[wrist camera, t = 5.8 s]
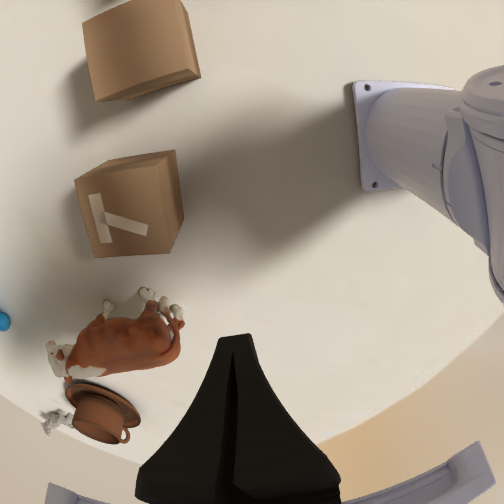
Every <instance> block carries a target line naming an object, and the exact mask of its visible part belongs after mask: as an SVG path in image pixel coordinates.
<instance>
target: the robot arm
mask: <svg viewBox="0 0 504 504" xmlns="http://www.w3.org/2000/svg"><path fill="white" fill-rule="evenodd" d="M365 84H366V85H368V87H369V90H368V91H366V90H365V89H364V86H365ZM352 90H353V97H354V105H355V113H356V122H357V132H358V143H359V157H360V174H361V187H362V189H363V190H364V191H366V192H374V191H382V190H389V189H397V188H405V189H407V190H408V191H410V192H411V193H413V194H414V195H416V196H417V197H419V198H420V199H422V200H423V201H424V202H426V203H427V204H429V205H430V206H432V207H433V208H434V209H436V210H437V211H439V212H440V213H441V214H443V215H444V216H445V217H447V218H448V219H449V220H451V221H452V222H453V223H455V224H456V225H457V226H459V227H460V228H461V229H462V230H463V231H465V232H466V233H467V234H468V235H470V236H471V237H473V239H474V242H475V245H476V246H477V247H479V248H480V249H481V250H482V251H483V252H484V253H485V254H487V255H488V256H489V278H490V281H491V285H492V287H493V289H494V291H495V294H496V295H497V297H498V298H499V300H500V301H501V302H502V303H503V304H504V65H502V66H497V67H493V68H489V69H486V70H484V71H481V72H479V73H477V74H475V75H473V76H472V77H471V78H469V79H468V81H467V82H466V84H465V86H464V88H463V90H462V91H457V90H455V89H454V88H452V87H445V86H438V85H430V84H420V83H409V82H394V81H355V82H354V83H353V85H352ZM373 182H376V185H375V186H374V187H372V183H373ZM340 482H341V478H340V475H339V473H338V472H337V470H336V469H335V467H334V466H333V465H332V463H331V462H330V460H329V459H328V458H327V456H326V455H325V454H324V453H323V452H322V451H321V450H320V449H319V448H318V447H317V446H316V445H315V444H314V443H313V442H312V441H311V440H310V439H309V438H308V437H307V435H306V434H305V433H304V432H303V431H302V430H301V429H300V427H299V426H298V425H297V424H296V422H295V421H294V420H293V419H292V418H291V416H290V415H289V414H288V412H287V411H286V409H285V408H284V407H283V405H282V404H281V402H280V401H279V399H278V398H277V396H276V394H275V393H274V391H273V390H272V388H271V386H270V384H269V382H268V381H267V379H266V377H265V375H264V373H263V371H262V368H261V366H260V364H259V361H258V357H257V353H256V350H255V346H254V342H253V339H252V335H251V334H249V333H247V334H240V335H234V336H227V337H221V338H219V339H218V342H217V346H216V349H215V352H214V355H213V358H212V360H211V363H210V366H209V368H208V371H207V373H206V375H205V378H204V380H203V382H202V384H201V386H200V388H199V390H198V393H197V395H196V397H195V398H194V400H193V402H192V404H191V406H190V407H189V409H188V411H187V412H186V414H185V415H184V417H183V418H182V420H181V421H180V423H179V424H178V426H177V427H176V429H175V430H174V431H173V433H172V434H171V435H170V436H169V438H168V439H167V440H166V441H165V442H164V443H163V445H162V446H161V447H160V448H159V449H158V450H157V451H156V453H155V454H154V455H152V456H151V457H150V458H149V459H148V460H147V461H146V462H145V463H144V464H143V465H142V466H141V467H140V468H139V472H138V476H137V480H136V488H135V497H136V498H137V499H139V500H141V501H144V502H146V503H149V504H468V503H470V502H471V501H473V500H474V499H476V498H477V497H479V496H480V495H481V494H483V493H484V492H486V491H487V490H488V489H490V488H491V487H492V486H494V485H495V484H496V481H495V478H494V475H493V473H492V470H491V468H490V465H489V463H488V460H487V458H486V455H485V453H484V451H483V449H482V446H481V444H480V441H476V442H475V443H473V444H471V445H470V446H468V447H467V448H465V449H464V450H462V451H460V452H458V453H457V454H455V455H453V456H452V457H451V458H449V459H448V460H447V461H446V462H444V463H442V464H441V465H439V466H437V467H435V468H433V469H431V470H429V471H427V472H424V473H423V474H420V475H418V476H416V477H414V478H411V479H409V480H407V481H404V482H402V483H399V484H397V485H394V486H392V487H389V488H386V489H384V490H381V491H378V492H375V493H372V494H369V495H366V496H363V497H359V498H356V499H353V500H349V501H345V502H341V499H340V490H339V483H340ZM45 504H109V503H105V502H101V501H98V500H94V499H91V498H87V497H84V496H81V495H78V494H76V493H74V492H73V491H70V490H68V489H66V488H63V487H61V486H58V485H55V484H53V483H49V484H48V489H47V494H46V499H45Z"/></svg>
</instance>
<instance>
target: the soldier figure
mask: <svg viewBox="0 0 504 504" xmlns="http://www.w3.org/2000/svg"><path fill="white" fill-rule="evenodd" d="M73 417H74V416H73V414H71V413H69V414H68V416H67V418H65V417H64V416H63V415H62V414H61V415H60V414H53V415H51V417H50V419H48V420H47V421H46V422H44V423H43V424H42V423H41V425H42V427H43V428H44V431H45V433H46V434H47V435H48V433H50V434H51V429H53V428H56V427H57V426H58V427H59V425H60V424H64V425H66V426H68V427H70V428H74V427H72V425H69V423H70V422H71V419H72V420H73Z"/></svg>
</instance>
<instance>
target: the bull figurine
mask: <svg viewBox="0 0 504 504" xmlns="http://www.w3.org/2000/svg"><path fill="white" fill-rule="evenodd" d="M139 295H140V296H141V297H142V299H144V300H145V310H144V311H143V313H142V314H141V315H140V317H139V318H137V319H133V320H131V319H128V318H112V319H109V320H107V321H106V319H107V317H108V315H109V314H110V313H111V312H112V311H114V307H113V304H112V303H110V301H108V300H105V301H104V302H103V303H104V311H103V313H101V314H99V315H98V316H97V318H96V319H95V320H93V321H92V322H91V323H90V324H89V325H88V326H87V327H86V328H85V329H84V330H82V331H81V333H80V334H79V335H78V337H77V341H76V344H74V345H70V344H65V345H56V344H55V342H54V341H49V342H48V343H47V344H46V348H47V352H48V360H49V363H50V365H51V367H52V369H53V372H54V374H55V376H57V377H63V376H64V379H65V381H66V382H67V383H69V384H70V383H72V377H74V378H77V379H85V378H88V377H102V376H106V375H109V374H113V373H121V372H128V371H133V370H145V369H150V368H155V367H159V366H164V365H167V364H169V363H171V362H172V361H174V360H175V359H176V358H177V357H178V356H179V353H180V348H181V347H180V334H179V330H180V329H181V328H183V327H184V325H185V323H184V321H183V314H184V312H185V311H184V310H183V309H182V308H180V307H179V306H178V305H172V306H171V310H172V312H173V314H174V318H173V319H172V318H171V316H170V312H169V303H168V298H166V297H165V296H162V297H161V298H160V300H159V302H156V301H155V299H154V293H153V292H152V290H151V289H150V290H147V289H146V288H140V289H139ZM158 311H160V312H161V313H162V314H163V315H164V316H165V317H166V319H167V321H168V322H169V324H168V325H166V324H165V322H164V319H163V317H162V316H161V315H160V314H157V312H158Z"/></svg>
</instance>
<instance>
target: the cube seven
mask: <svg viewBox="0 0 504 504" xmlns="http://www.w3.org/2000/svg"><path fill="white" fill-rule="evenodd" d="M74 182H75V186H76V191H77V195H78V199H79V203H80V207H81V211H82V215H83V219H84V223H85V226H86V230H87V233H88V236H89V240H90V243H91V246H92V249H93V253H94V256H95V258H100V257H116V256H133V255H149V254H165V253H170V251H171V249H172V246H173V244H174V241H175V239H176V237H177V234H178V232H179V229H180V227H181V225H182V222H183V220H184V214H183V207H182V200H181V193H180V186H179V178H178V170H177V161H176V153H175V150H170V151H162V152H155V153H148V154H142V155H136V156H130V157H124V158H119V159H113V160H108V161H107V162H105V163H103V164H101V165H99V166H97V167H96V168H94V169H92V170H90V171H89V172H87V173H85V174H83V175H82V176H80V177H78V178H77V179H75V180H74Z"/></svg>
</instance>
